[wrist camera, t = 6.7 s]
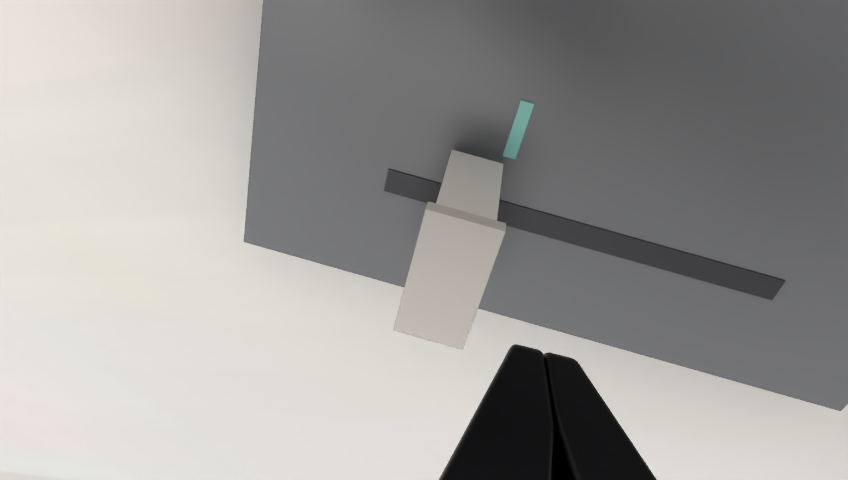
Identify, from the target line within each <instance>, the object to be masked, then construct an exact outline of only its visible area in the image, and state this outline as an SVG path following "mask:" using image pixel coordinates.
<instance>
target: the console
mask: <svg viewBox="0 0 848 480" xmlns="http://www.w3.org/2000/svg"><path fill="white" fill-rule="evenodd" d="M452 150H456V151H459V152H463V153H467V154H470V155H474V156H477V157H481V158H484V159H488V160H491V161H495V162H499V163H502V164H503V172H502V181H501V189H500V198H499V207H498V216H497V221H500V222H503V223H506V232H505V235H504V237H503V240H502V243H501V246H500V248H499V251H498V254H497V257H496V259H495V262H494V265H493V268H492V271H491V273H490V276H489V279H488V282H487V284H486V287H485V290H484V293H483V295H482V298H481V301H480V304H479V306H478V308H479V309H483V310H486V311H490V312H493V313H497V314H500V315H504V316H507V317H511V318H514V319H518V320H521V321H525V322H528V323H532V324H535V325H539V326H542V327H546V328H550V329H553V330H557V331H560V332H564V333H567V334H571V335H574V336H578V337H581V338H585V339H588V340H592V341H595V342H599V343H602V344H606V345H609V346H613V347H617V348H620V349H624V350H627V351H631V352H634V353H638V354H641V355H645V356H648V357H652V358H655V359H659V360H662V361H666V362H669V363H673V364H676V365H680V366H684V367H687V368H691V369H694V370H698V371H701V372H705V373H708V374H712V375H715V376H719V377H722V378H726V379H729V380H733V381H736V382H740V383H743V384H747V385H751V386H754V387H758V388H761V389H765V390H768V391H772V392H775V393H779V394H782V395H786V396H789V397H793V398H796V399H800V400H803V401H807V402H810V403H814V404H817V405H821V406H825V407H828V408H832V409H835V410H839V411H841V410H842V409H843V408H844V407H845V406H846V405H847V404H848V0H263V12H262V24H261V36H260V49H259V61H258V73H257V86H256V98H255V110H254V123H253V135H252V147H251V160H250V172H249V184H248V197H247V209H246V221H245V234H244V242H246V243H250V244H253V245H257V246H260V247H264V248H268V249H271V250H275V251H278V252H282V253H285V254H289V255H292V256H296V257H299V258H303V259H306V260H310V261H313V262H317V263H320V264H324V265H327V266H331V267H334V268H338V269H342V270H345V271H349V272H352V273H356V274H359V275H363V276H366V277H370V278H373V279H377V280H380V281H384V282H387V283H391V284H394V285H398V286H401V287H405V284H406V280H407V276H408V273H409V269H410V265H411V261H412V258H413V254H414V250H415V247H416V243H417V239H418V235H419V232H420V228H421V224H422V221H423V217H424V213H425V209H426V206H427V203H428V201H429V202H432V203H436V202H437V198H438V195H439V192H440V188H441V185H442V182H443V178H444V175H445V171H446V168H447V165H448V161H449V158H450V154H451V151H452Z"/></svg>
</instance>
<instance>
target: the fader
mask: <svg viewBox="0 0 848 480" xmlns="http://www.w3.org/2000/svg"><path fill="white" fill-rule="evenodd" d="M502 172H503V164H502V163H499V162H495V161H491V160H488V159H484V158H481V157H477V156H474V155H470V154H467V153H463V152H459V151H456V150H452V151H451V154H450V158H449V161H448V165H447V168H446V171H445V175H444V178H443V182H442V185H441V188H440V192H439V195H438V198H437V202H436V203H432V202H429V201H428V203H427V206H426V209H425V213H424V217H423V221H422V224H421V228H420V232H419V235H418V239H417V243H416V247H415V250H414V254H413V258H412V261H411V265H410V269H409V273H408V276H407V280H406V284H405V288H404V291H403V295H402V299H401V302H400V306H399V310H398V314H397V317H396V321H395V325H394V328H393V330H394V331H397V332H401V333H404V334H408V335H411V336H415V337H419V338H422V339H426V340H429V341H433V342H436V343H440V344H443V345H447V346H450V347H454V348H457V349H461V350H463V348H464V345H465V342H466V340H467V337H468V334H469V331H470V329H471V326H472V323H473V320H474V318H475V315H476V312H477V309H478V306H479V304H480V301H481V298H482V295H483V293H484V290H485V287H486V284H487V282H488V279H489V276H490V273H491V271H492V268H493V265H494V262H495V259H496V257H497V254H498V251H499V248H500V246H501V243H502V240H503V237H504V235H505V232H506V223H503V222H500V221H497V216H498V207H499V198H500V189H501V181H502Z"/></svg>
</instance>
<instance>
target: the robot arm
mask: <svg viewBox="0 0 848 480" xmlns="http://www.w3.org/2000/svg"><path fill="white" fill-rule="evenodd" d="M439 480H656V478H655V477H654V475H653V474H652V472H651V471H650V469H649V468H648V466H647V465H646V463H645V462H644V460H643V459H642V457H641V456H640V454H639V453H638V451H637V450H636V448H635V447H634V445H633V444H632V442H631V441H630V439H629V438H628V436H627V435H626V433H625V432H624V430H623V429H622V427H621V426H620V424H619V423H618V421H617V420H616V418H615V417H614V415H613V414H612V412H611V411H610V409H609V408H608V407H607V405H606V404H605V402H604V401H603V399H602V398H601V396H600V395H599V393H598V392H597V390H596V389H595V387H594V386H593V384H592V383H591V381H590V380H589V378H588V377H587V375H586V374H585V372H584V371H583V369H582V368H581V366H580V365H579V363H578V362H577V361H576V360H574V359H572V358H569V357H565V356H561V355H557V354H553V353H546V354H544V355H543V353H542V352H541V351H540V350H537V349H533V348H529V347H525V346H521V345H516V344H515V345H513V346H511V348H510V349H509V351H508V353H507V355H506V357H505V358H504V360H503V362H502V364H501V366H500V368H499V370H498V371H497V373H496V375H495V377H494V379H493V381H492V382H491V384H490V386H489V388H488V390H487V392H486V394H485V395H484V397H483V399H482V401H481V403H480V405H479V406H478V408H477V410H476V412H475V414H474V416H473V418H472V419H471V421H470V423H469V425H468V427H467V429H466V431H465V432H464V434H463V436H462V438H461V440H460V442H459V443H458V445H457V447H456V449H455V451H454V453H453V455H452V456H451V458H450V460H449V462H448V464H447V466H446V467H445V469H444V471H443V473H442V475H441V477H440V479H439Z"/></svg>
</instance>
